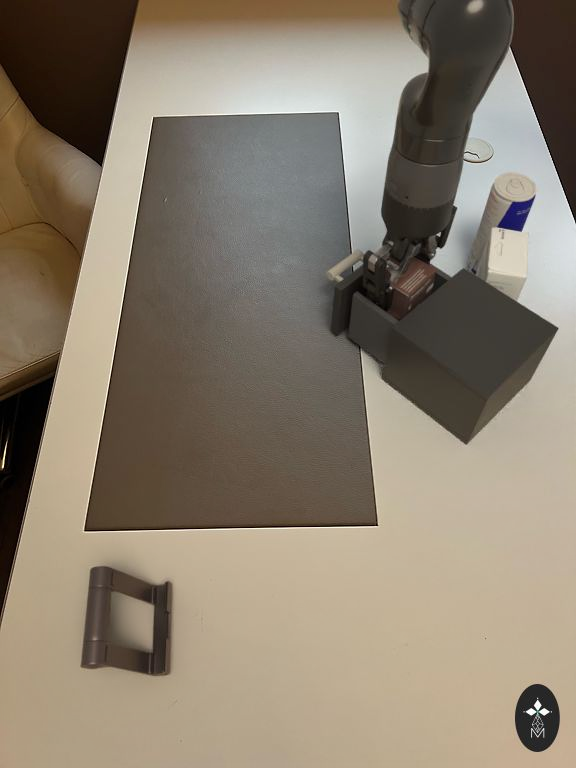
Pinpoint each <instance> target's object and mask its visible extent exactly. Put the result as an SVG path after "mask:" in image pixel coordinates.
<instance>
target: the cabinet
mask: <svg viewBox="0 0 576 768" xmlns="http://www.w3.org/2000/svg"><path fill="white" fill-rule="evenodd" d="M451 277H452V278H450V279H449V280H448V281H447V282H446V283H444V284H443V285H442V286H441V287H440V288H438V289H437V290H436V291H435V292H434V293H432V294H431V295H430V296H429V297H428V298H426V299H425V300H424V301H423V302H422V303H420V304H419V305H418V306H417V307H416V308H414V309H413V310H412V311H411V312H410V313H408V314H407V315H406V316H405V317H404V318H402V319H401V320H400V321H399V322H397V323H396V324H395V325H394V326H393V327H392V329H391V335H390V340H389V345H388V350H387V355H386V360H385V364H383V370H382V376H381V380H382V381H383V382H385V383H386V384H388V386H390V387H391V388H393V389H394V390H395V391H396V392H398V393H399V394H400V395H401V396H403V397H404V398H406V400H408V401H409V402H411V403H412V404H413V405H414V406H416V407H417V408H418V409H419V410H421V411H422V412H423V413H424V414H426V415H427V416H429V417H430V418H431V419H432V420H434V421H435V422H436V423H438V424H439V425H440V426H442V428H444V429H446V430H447V431H448V432H449V433H450V434H452V435H453V436H454V437H456V438H457V439H458V440H459V441H461V442H462V443H464V444H465V445H468V444H469V443H470V442H471V441H472V440H473V439H474V438H475V437H476V436H477V435H478V434H479V433H480V432H482V430H483V429H484V428H485V427H486V426H487V425H488V424H489V423H490V422H491V421H492V420H493V419H494V418H495V417H496V416H497V415H498V414H499V413H501V411H502V410H503V409H504V408H505V407H506V406H507V405H508V404H509V402H511V400H513V398H514V397H516V396H517V395H518V393H520V392H521V390H523V388H524V387H526V385H528V384H529V382H531V380H532V378H533V376H534V375H535V373H536V371H537V369H538V368H539V366H540V365H541V362H542V360H543V358H544V357H545V354H546V352H547V350H548V349H549V347H550V345H551V343H552V342H553V340H554V338H555V337H556V334H557V332H558V331H559V327H558V326H557V325H555V324H553V323H552V322H550V321H548V320H547V319H546V318H544V317H542V316H540V315H539V314H538V313H536V312H535V311H533V310H531V309H529V308H527V307H526V306H525V305H523V304H522V303H520V302H518V300H517V301H515V300H514V299H512V298H510V297H509V296H507V295H506V294H504V293H503V292H501V291H499V290H498V289H496V288H495V287H493V286H491V285H490V284H488V283H487V282H485V281H484V280H482V279H480V278H479V277H477V276H476V275H474V274H473V273H471V272H470V271H469V269H467V268H465V267H462V269H460V270H459V271H457V273H455V274H454V275H453V276H451Z"/></svg>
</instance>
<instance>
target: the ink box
mask: <svg viewBox="0 0 576 768" xmlns="http://www.w3.org/2000/svg"><path fill="white" fill-rule="evenodd" d="M529 238H530V235H529V232H525V231H522V232H519V231H514V230H508V229H503V228H497V227H495V228H493V227H492V228H491V231H490V234H489V237H488V240H487V243H486V246H485V249H484V252H483V255H482V258H481V260H480V263H479V266H478V269H477V272H476V276H477V277H479V278H480V279H482V280H484V281H485V282H487V283H488V284H490V285H491V286H493V287H495V288H496V289H498V290H499V291H501V292H503V293H504V294H506V295H507V296H509V297H510V298H512V299H514V300H515V301H517V302H518V299H519V297H520V295H521V292H522V290H523V288H524V285H525V283H526V281H527V278H528V264H529V263H528V262H529V243H530V242H529Z"/></svg>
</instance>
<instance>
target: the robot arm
mask: <svg viewBox="0 0 576 768" xmlns="http://www.w3.org/2000/svg"><path fill="white" fill-rule="evenodd" d="M397 16H398V20H399V23H400V26H401V27H402V29H403V31H404V32H405V34H406V35H407V37H408V38H410V40H411V41H412V42H413V43H414V44H415V45H416V46H417V47H418V48H419V50H421V52H422V53H423V54H424V55H425V57H427V59H428V67H427V68H428V69H427V72H423V73H420V74H418V75H415V76H414V77H412V78H411V79H410V80H408V82H407V83H406V84H405V86H404V87H403V89H402V91H401V94H400V97H399V101H398V106H397V112H396V118H395V125H394V126H395V127H394V133H393V139H392V144H391V147H390V151H389V154H388V159H387V166H386V172H385V177H384V178H385V180H384V186H383V193H382V194H383V195H382V199H381V201H382V202H381V209H380V214H381V219H382V221H383V223H384V226H385V230H386V232H385V235H384V238H383V239H382V242H381V247H380V248H379V249H378V250H377V251H375V252H374V251H372V250H371V249H368V250H366V251H365V253H363V254H364V256H363V263H362V265H363V286H364V287H365V288H366V289H368V290H369V291H371V292H372V293H374V299H373V303H374V304H375V305H377V306H378V307H380V308H381V309H382V310H384V311H387V310H388V309H390V308H391V304H392V299H393V294H394V287H395V285H396V283H397V281H398V279H399V277H400V276H404V275H405V274H406V271H407V269H408V267H409V265H410V263H411V261H412V259H413V257H416V258H417V259H419V260H421V261H423V262H424V263H426V264H428V265H430V263H431V261H432V260H433V259H434V258H435V256H436V255H437V249H440V250H441V249H443V248H444V247H445V246H446V244H447V241H448V238H449V236H450V233H451V230H452V226H453V223H454V220H455V218H456V214H457V211H458V207H457V206H456V205H455V200H456V196H457V193H458V190H459V185H460V183H461V182H460V181H461V179H462V174H463V169H464V161H465V151H466V148H467V145H468V144H467V143H468V140H469V136H470V132H471V128H472V123H473V119H474V114H475V112H476V110H477V108H478V107H479V105H480V104H481V102H482V100H483V99H484V97H485V95H486V94H487V91H488V90H489V88H490V85H491V84H492V83H493V81H494V80H495V77H496V75H497V74H498V72H499V70H500V68H501V66H502V65H503V63H504V61H505V59H506V56H507V54H508V52H509V49H510V47H511V44H512V40H513V34H514V27H515V26H514V23H515V13H514V7H513V2H512V0H398V2H397ZM438 234H440V235H438ZM389 256H390V257H391V258H393V259H394V260H396V261H397V262H399V263H401V265H400V267H399V266H397V265H396V264H394V263H393V262H391V261H390V260H389ZM387 271H388V272H390V273H391V278H390V280H387V279H386V272H387Z"/></svg>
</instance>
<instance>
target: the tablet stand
mask: <svg viewBox="0 0 576 768" xmlns="http://www.w3.org/2000/svg"><path fill="white" fill-rule="evenodd" d="M112 592H115V593H118V594H122V595H124V596H127V597H130V598H133V599H136V600H138V601H141V602H143V603H146V604H149V605H151V606H153V608H154V609H153V626H152V627H153V631H152V651H151V652H147V651H143V650H140V649H136V648H132V647H128V646H124V645H120V644H116V643H113V642H109V629H110V618H111V617H110V616H111V604H112V594H113V593H112ZM172 600H173V584H172V583H171V582H170V581H169V580H168V581H165V582H164V584H159V585H158V584H157V585H156V584H152V583H150V582H147V581H145V580H143V579H141V578H138V577H136V576H132V575H131V574H128V573H126V572H123V571H120V570H118V569H115V568H113V567H111V566H105V565H99V566H93V567H90V569H89V578H88V589H87V598H86V608H85V618H84V628H83V638H82V648H81V658H80V659H81V660H80V668H81V669H85V670H86V669H87V670H97V669H102V668H103V669H104V668H113V669H118V670H123V671H126V672H127V671H128V672H132V673H138V674H142V675H146V676H151V677H164V676H169V675H170V674H171V645H172V644H171V642H172V640H171V639H172V604H173V602H172Z"/></svg>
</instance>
